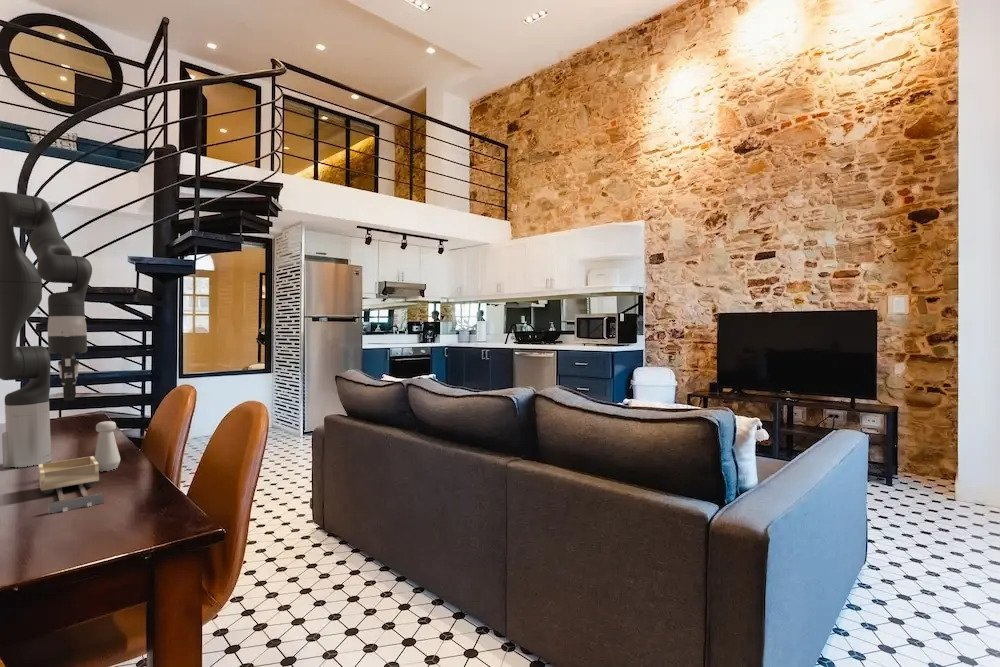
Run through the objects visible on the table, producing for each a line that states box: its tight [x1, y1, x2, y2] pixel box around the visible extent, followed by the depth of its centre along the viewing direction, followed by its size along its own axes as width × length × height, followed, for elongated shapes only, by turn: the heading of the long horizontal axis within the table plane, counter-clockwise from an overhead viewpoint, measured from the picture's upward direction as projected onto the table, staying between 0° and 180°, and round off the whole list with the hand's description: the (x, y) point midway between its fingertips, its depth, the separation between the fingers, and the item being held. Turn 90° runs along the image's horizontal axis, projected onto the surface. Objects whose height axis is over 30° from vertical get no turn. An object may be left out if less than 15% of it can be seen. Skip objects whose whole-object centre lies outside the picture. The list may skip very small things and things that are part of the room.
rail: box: [48, 483, 104, 515], centre depth 119 cm, size 28×9×2 cm, turn 44°
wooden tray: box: [38, 455, 100, 495], centre depth 123 cm, size 10×10×5 cm
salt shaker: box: [94, 420, 121, 473], centre depth 138 cm, size 6×6×13 cm
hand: (69, 398), depth 129 cm, fingers open, 8 cm apart
